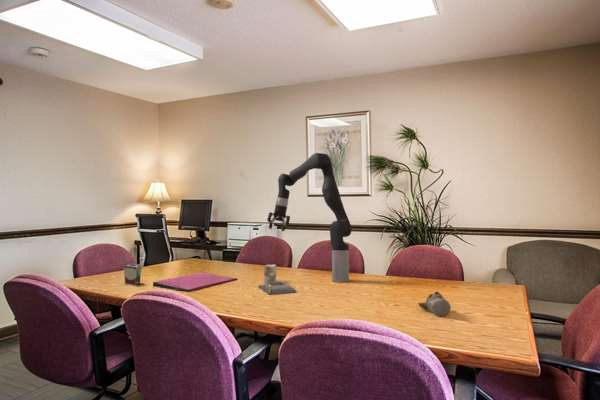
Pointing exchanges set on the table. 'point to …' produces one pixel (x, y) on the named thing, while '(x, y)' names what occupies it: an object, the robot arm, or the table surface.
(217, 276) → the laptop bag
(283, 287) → the fixture plate
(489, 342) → the table surface
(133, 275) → the food container
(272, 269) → the birch block
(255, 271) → the table surface
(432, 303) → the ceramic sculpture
